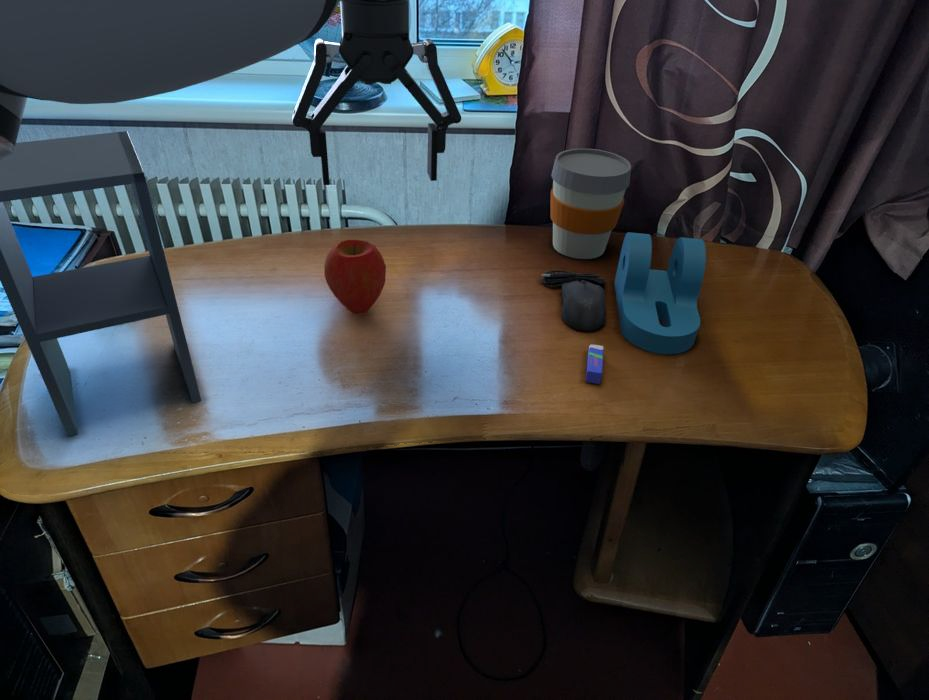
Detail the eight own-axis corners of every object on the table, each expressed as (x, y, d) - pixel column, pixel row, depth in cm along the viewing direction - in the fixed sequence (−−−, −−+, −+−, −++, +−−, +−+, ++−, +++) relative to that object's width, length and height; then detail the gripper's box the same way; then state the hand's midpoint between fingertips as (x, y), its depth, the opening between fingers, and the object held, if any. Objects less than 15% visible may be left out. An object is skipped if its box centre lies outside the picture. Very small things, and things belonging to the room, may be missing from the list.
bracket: (614, 282, 104) (627, 221, 98) (681, 289, 103) (699, 228, 97) (622, 349, 90) (638, 283, 83) (700, 358, 89) (722, 292, 83)
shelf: (201, 400, 77) (143, 171, 61) (67, 437, 72) (-37, 195, 55) (182, 345, 86) (127, 130, 69) (61, 374, 80) (-32, 147, 63)
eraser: (602, 357, 88) (604, 345, 87) (599, 385, 83) (602, 373, 82) (587, 355, 88) (589, 343, 87) (584, 382, 84) (586, 370, 82)
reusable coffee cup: (630, 250, 113) (649, 166, 104) (581, 272, 106) (597, 183, 97) (575, 223, 120) (589, 142, 112) (527, 242, 114) (537, 157, 105)
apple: (314, 310, 94) (307, 242, 87) (360, 288, 99) (356, 223, 92) (354, 335, 89) (350, 265, 83) (400, 311, 95) (399, 244, 88)
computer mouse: (549, 331, 92) (553, 308, 90) (539, 278, 104) (542, 257, 102) (621, 334, 93) (626, 311, 90) (602, 280, 104) (607, 259, 102)
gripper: (477, -11, 77) (467, 164, 90) (257, -15, 72) (279, 171, 85) (493, 1, 72) (480, 186, 84) (254, -3, 67) (279, 194, 79)
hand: (379, 179), depth 85 cm, fingers open, 13 cm apart
